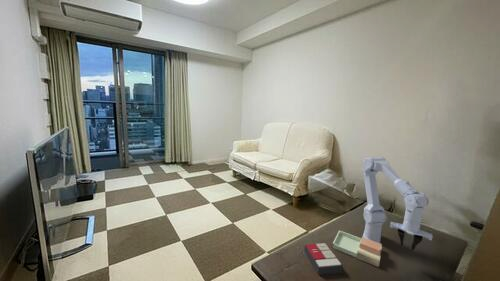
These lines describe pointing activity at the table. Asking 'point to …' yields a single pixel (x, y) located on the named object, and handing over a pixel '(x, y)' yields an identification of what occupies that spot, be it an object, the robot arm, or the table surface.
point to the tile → (370, 246)
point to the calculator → (323, 259)
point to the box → (346, 243)
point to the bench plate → (368, 256)
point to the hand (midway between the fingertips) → (406, 247)
